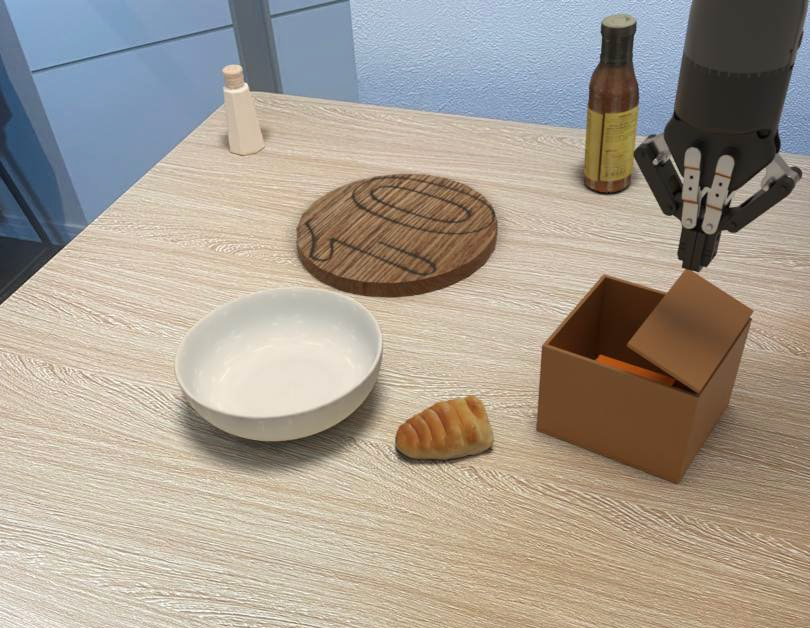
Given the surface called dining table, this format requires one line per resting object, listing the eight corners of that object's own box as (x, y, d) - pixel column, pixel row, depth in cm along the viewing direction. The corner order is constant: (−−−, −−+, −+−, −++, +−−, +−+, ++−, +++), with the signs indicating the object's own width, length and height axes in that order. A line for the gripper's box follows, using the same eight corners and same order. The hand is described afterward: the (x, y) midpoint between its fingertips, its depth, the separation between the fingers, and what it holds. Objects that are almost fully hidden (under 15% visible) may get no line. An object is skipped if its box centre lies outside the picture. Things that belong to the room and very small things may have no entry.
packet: (670, 410, 91) (676, 379, 88) (650, 441, 88) (656, 409, 85) (596, 385, 94) (600, 354, 91) (574, 413, 91) (577, 382, 88)
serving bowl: (299, 314, 105) (290, 262, 100) (429, 393, 95) (426, 339, 90) (150, 404, 97) (131, 351, 91) (274, 502, 86) (261, 449, 81)
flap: (751, 313, 83) (754, 310, 83) (698, 393, 77) (700, 390, 76) (684, 270, 84) (686, 267, 84) (625, 346, 77) (628, 342, 77)
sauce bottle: (638, 177, 121) (661, 14, 106) (618, 199, 117) (639, 34, 102) (592, 166, 123) (608, 6, 108) (572, 188, 120) (585, 25, 105)
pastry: (408, 476, 88) (405, 447, 85) (386, 431, 92) (383, 402, 89) (499, 450, 89) (499, 421, 86) (474, 408, 93) (474, 379, 90)
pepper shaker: (224, 155, 132) (207, 76, 123) (234, 137, 135) (218, 59, 127) (260, 156, 131) (245, 76, 122) (270, 138, 134) (256, 59, 126)
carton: (728, 404, 91) (752, 317, 83) (677, 484, 85) (698, 398, 77) (593, 358, 97) (603, 273, 89) (536, 430, 91) (541, 345, 83)
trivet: (432, 319, 103) (431, 305, 102) (258, 263, 113) (255, 250, 111) (532, 213, 116) (532, 199, 115) (368, 171, 126) (367, 158, 125)
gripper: (627, 49, 64) (601, 267, 77) (820, 85, 58) (756, 312, 71) (671, 10, 67) (639, 224, 81) (855, 41, 62) (788, 264, 75)
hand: (694, 265), depth 76 cm, fingers closed
